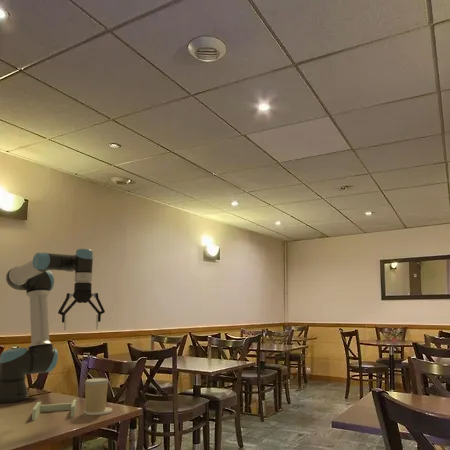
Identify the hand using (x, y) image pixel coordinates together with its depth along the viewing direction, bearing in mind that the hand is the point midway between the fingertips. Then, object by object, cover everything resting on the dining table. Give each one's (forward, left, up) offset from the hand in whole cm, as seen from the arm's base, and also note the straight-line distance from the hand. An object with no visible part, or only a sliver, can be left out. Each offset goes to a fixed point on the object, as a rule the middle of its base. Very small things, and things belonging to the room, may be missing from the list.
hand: (81, 329), depth 197 cm
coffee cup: (+14, +8, -32) cm, 36 cm away
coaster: (+14, +9, -33) cm, 37 cm away
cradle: (+12, -8, -33) cm, 36 cm away
